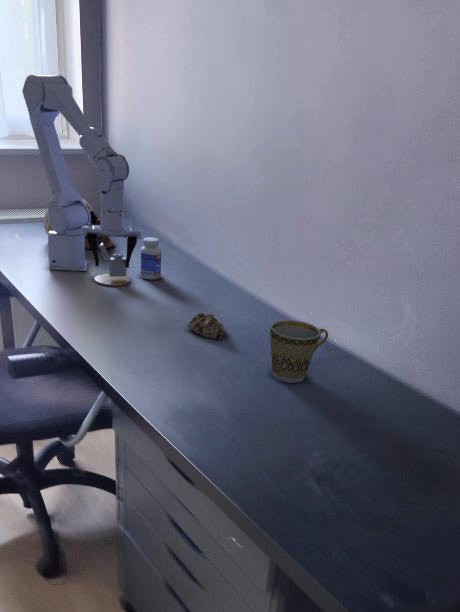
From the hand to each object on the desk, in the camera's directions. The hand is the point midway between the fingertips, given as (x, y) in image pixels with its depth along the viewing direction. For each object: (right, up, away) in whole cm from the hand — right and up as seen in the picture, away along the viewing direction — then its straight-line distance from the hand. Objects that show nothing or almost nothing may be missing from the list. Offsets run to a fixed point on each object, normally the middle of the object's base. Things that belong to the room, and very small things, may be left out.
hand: (112, 265), depth 182 cm
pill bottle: (+9, 0, +8) cm, 12 cm away
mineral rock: (+25, -22, -21) cm, 40 cm away
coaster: (0, -3, +2) cm, 4 cm away
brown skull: (-14, +16, +27) cm, 35 cm away
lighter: (0, -2, +1) cm, 3 cm away
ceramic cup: (+44, -35, -37) cm, 67 cm away
